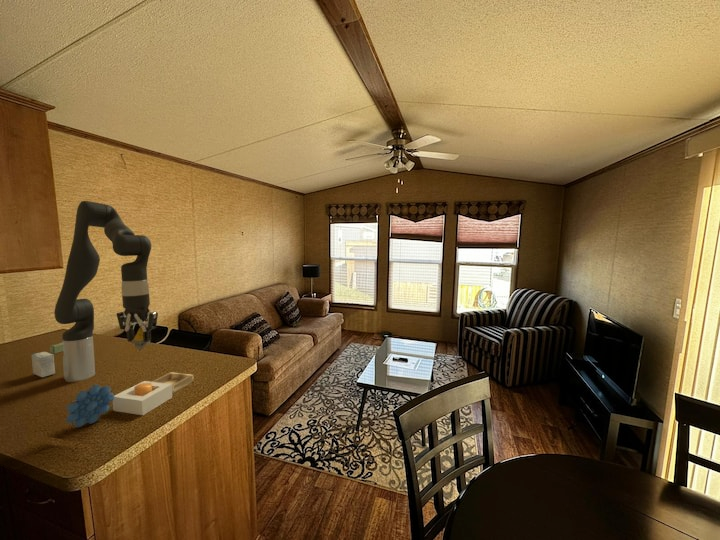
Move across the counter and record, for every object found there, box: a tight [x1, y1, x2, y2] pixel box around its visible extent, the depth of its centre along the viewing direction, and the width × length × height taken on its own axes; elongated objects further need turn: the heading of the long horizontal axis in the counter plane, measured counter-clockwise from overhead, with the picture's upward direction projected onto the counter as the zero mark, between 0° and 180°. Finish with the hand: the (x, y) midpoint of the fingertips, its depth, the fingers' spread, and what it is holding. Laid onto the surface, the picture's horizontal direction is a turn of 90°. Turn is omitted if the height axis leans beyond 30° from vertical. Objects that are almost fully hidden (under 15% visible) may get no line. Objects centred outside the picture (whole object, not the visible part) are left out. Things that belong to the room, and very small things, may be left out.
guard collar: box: [112, 380, 173, 416], centre depth 107 cm, size 12×12×5 cm
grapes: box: [65, 384, 115, 428], centre depth 96 cm, size 12×7×12 cm, turn 145°
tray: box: [151, 371, 195, 395], centre depth 120 cm, size 11×11×3 cm
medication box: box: [49, 342, 64, 355], centre depth 158 cm, size 12×3×4 cm, turn 166°
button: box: [134, 383, 152, 396], centre depth 107 cm, size 5×5×4 cm
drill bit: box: [130, 326, 151, 351], centre depth 107 cm, size 5×5×10 cm
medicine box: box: [31, 351, 56, 378], centre depth 129 cm, size 8×4×9 cm, turn 65°
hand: (139, 341), depth 106 cm, fingers closed on drill bit, 5 cm apart
